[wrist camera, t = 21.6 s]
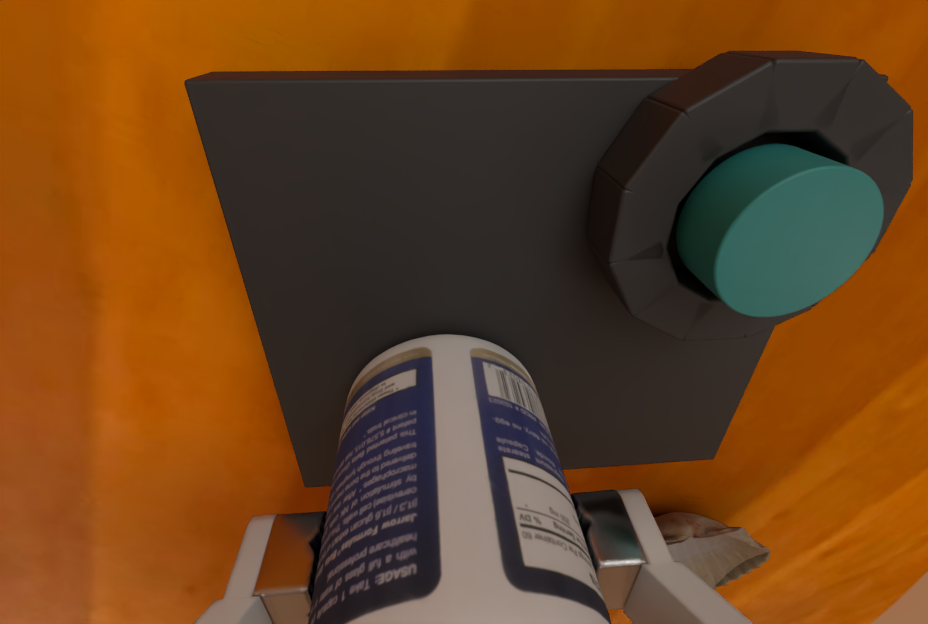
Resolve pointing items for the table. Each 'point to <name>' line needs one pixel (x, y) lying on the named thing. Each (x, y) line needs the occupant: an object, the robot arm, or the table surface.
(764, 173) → the button
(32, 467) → the table surface
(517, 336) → the black button board
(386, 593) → the pill bottle
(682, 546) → the seashell
